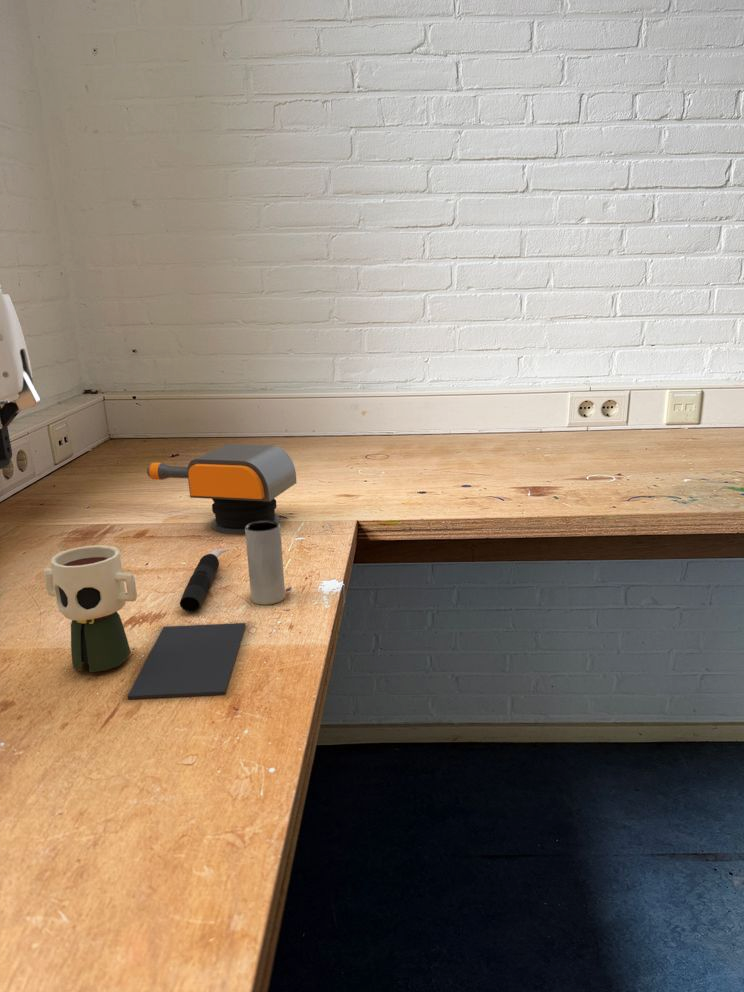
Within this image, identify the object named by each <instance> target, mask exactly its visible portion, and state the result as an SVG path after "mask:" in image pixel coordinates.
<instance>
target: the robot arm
mask: <svg viewBox="0 0 744 992" xmlns="http://www.w3.org/2000/svg"><path fill="white" fill-rule="evenodd" d="M17 395H18V397H17V398H16V399H14V400H11V401H10V399H13V398H14V397H16V396H17ZM40 403H41V398H40V396H39V394H38V392H37V390H36V388H35V386H34V377H33V370H32V365H31V360H30V356H29V352H28V347H27V344H26V339H25V337H24V332H23V328H22V325H21V323H20V320H19V316H18V315H17V312H16V308H15V306H14V304H13V301H12V299H11V296H10V294H9V293H3V290H2V285H1V283H0V470H2V469H3V468H6V467H8V466H9V465H10V464H11V460H12V458H13V451H12V443H11V439H10V434H9V426H11V425H12V422H13V421H14V419H15V418H16V417H17V416H18V415H19V414H20V412H23V411H25V410H28V409H31V408H34V407H36V406H38V405H39V404H40Z"/></svg>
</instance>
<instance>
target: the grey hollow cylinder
mask: <svg viewBox="0 0 744 992" xmlns="http://www.w3.org/2000/svg"><path fill="white" fill-rule="evenodd" d="M244 535H245V541H246V542H245V545H246V554H247V556H246V557H247V568H248V578H249V591H250V598H251V599H250V600H251V601H252V603H254V604H256V605H263V606H265V605H274V604H278V603H280V602H282V601H283V600H285V598H286V587H285V586H286V585H285V572H284V559H283V545H282V532H281V523H280V524H279V523H278V522H275V521H256V522H252V523H249V524H247V525H246V526H245V534H244Z"/></svg>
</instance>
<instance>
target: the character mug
mask: <svg viewBox="0 0 744 992" xmlns="http://www.w3.org/2000/svg"><path fill="white" fill-rule="evenodd" d="M122 565H123V564H122V559H121V553H120V550H119V548H117V547H115V546H113V545H112V546H111V545H104V544H102V545H101V544H99V545H97V544H96V545H95V544H93V545H84V546H78V547H74V548H69V549H66V550H63V551H61V552H59V553H56V554H55V555H53V557H51V560H50V567H47V568H44V570H43V580H44V585H45V590H46V593H47V595H48V596H50V597H55V604H56V607H57V609H58V612H59V613H61V614H62V615H63V616H64V617H65V618H66V619H68V620H70V621H71V622H70V653H71V663H72V667H73V668H74V669H75V670H77V671H79V672H82V671H83V663H84V664H86V665H88V669H89V672H90V673H95V672H105V671H107V670H111V669H114V668H117V667H119V666H120V665H121V664H122V663H123V662H125V661H126V660H127V659H128V658H129V656H130V655H131V648H130V645H129V640H128V637H127V634H126V631H125V627H124V624H123V621H122V618H121V616H120V614H119V612H118V611H120V610H122V608H124V607H125V605H126V602H136V601H137V597H138V591H137V583H136V578H135V576H134V574H133V573H131V572H123V566H122ZM125 586H126V587H125Z"/></svg>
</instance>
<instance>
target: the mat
mask: <svg viewBox="0 0 744 992" xmlns="http://www.w3.org/2000/svg"><path fill="white" fill-rule="evenodd" d="M246 626H247V625H246V622H238V623H237V622H236V623H214V624H193V625H191V624H190V625H170V626H169V625H168V626H163V627H162V629H161V631H160V633H159V635H158V637H157V639H156V641H155V643H154V644H153V646H152V648H151V650H150V652H149V653H148V656H147V657H146V659H145V662H144V663H143V666H142V667H141V669H140V671H139V673H138V675H137V677H136V679H135V681H134V682H133V684H132V687H131V688H130V690H129V692H128V694H127V695H126V697H127V700H141V699H162V698H164V699H165V698H181V697H202V696H219V695H222V696H223V695H226V693H227V690H228V687H229V683H230V680H231V676H232V673H233V670H234V666H235V662H236V660H237V655H238V652H239V650H240V646H241V643H242V639H243V635H244V633H245V629H246Z"/></svg>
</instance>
